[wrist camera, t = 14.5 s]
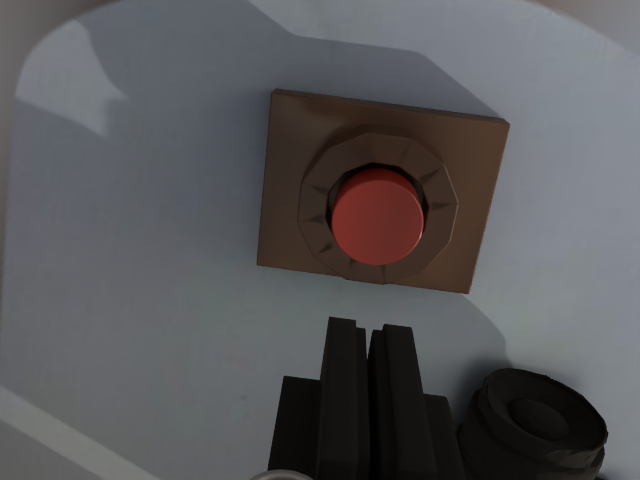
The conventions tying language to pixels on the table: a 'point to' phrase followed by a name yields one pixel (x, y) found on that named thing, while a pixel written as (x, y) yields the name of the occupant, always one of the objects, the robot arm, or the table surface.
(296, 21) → the table surface
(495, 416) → the film camera
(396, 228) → the button
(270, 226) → the button block
